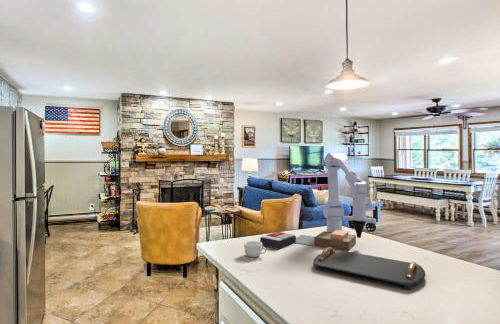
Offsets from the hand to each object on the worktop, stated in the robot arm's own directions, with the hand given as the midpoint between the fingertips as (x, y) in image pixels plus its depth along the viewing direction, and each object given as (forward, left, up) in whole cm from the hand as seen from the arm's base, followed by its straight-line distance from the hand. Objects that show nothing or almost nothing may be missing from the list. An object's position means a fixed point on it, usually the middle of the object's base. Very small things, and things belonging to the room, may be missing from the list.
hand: (359, 237), depth 149 cm
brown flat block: (0, -11, -5) cm, 12 cm away
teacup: (+35, -35, -5) cm, 50 cm away
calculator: (+13, -35, -5) cm, 38 cm away
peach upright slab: (0, -9, -1) cm, 9 cm away
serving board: (+28, +9, -6) cm, 30 cm away
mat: (0, -26, -5) cm, 26 cm away
